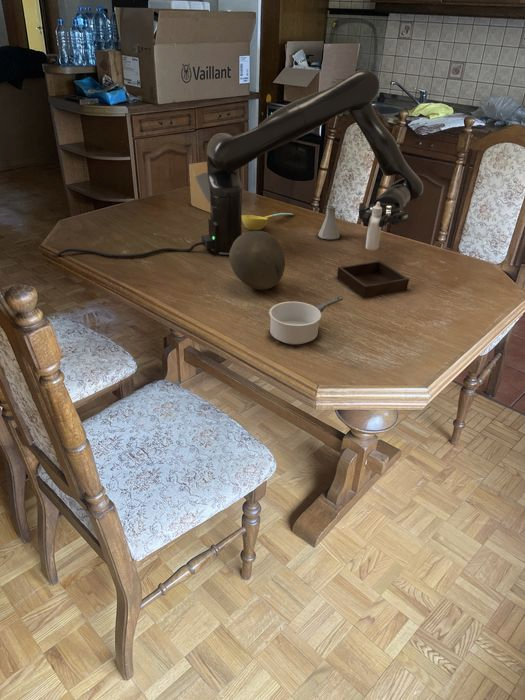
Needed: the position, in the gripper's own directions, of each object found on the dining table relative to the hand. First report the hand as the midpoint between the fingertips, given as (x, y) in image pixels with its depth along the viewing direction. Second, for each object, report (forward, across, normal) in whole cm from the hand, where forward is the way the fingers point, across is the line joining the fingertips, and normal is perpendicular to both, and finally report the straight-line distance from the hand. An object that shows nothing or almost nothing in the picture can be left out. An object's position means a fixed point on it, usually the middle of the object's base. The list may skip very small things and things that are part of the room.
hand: (372, 221), depth 136 cm
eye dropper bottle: (-3, 0, +8) cm, 8 cm away
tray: (-1, +2, +18) cm, 18 cm away
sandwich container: (-38, -71, +18) cm, 82 cm away
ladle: (-33, -44, +18) cm, 57 cm away
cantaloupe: (+16, -24, +18) cm, 34 cm away
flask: (-31, -22, +18) cm, 42 cm away
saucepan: (+30, -4, +18) cm, 35 cm away
